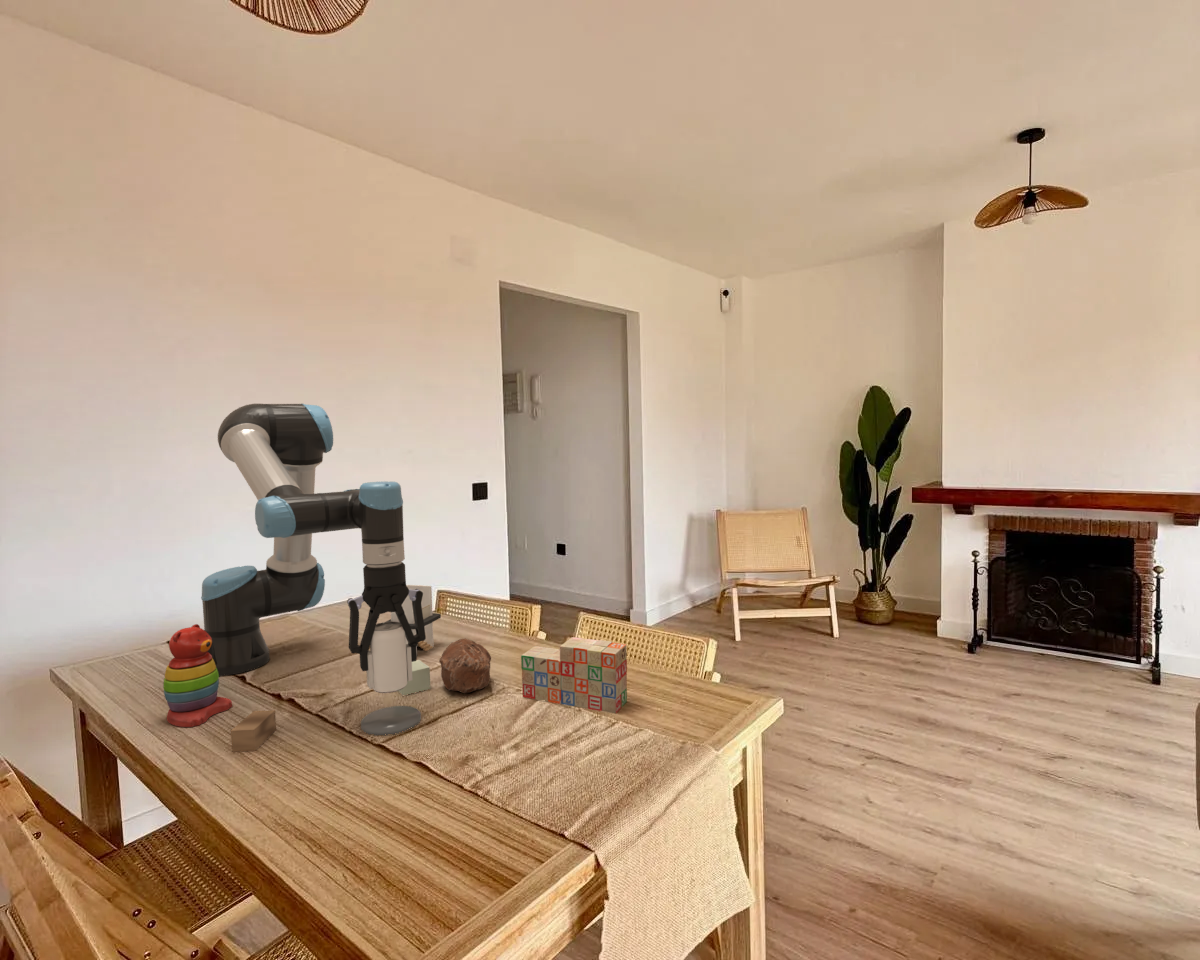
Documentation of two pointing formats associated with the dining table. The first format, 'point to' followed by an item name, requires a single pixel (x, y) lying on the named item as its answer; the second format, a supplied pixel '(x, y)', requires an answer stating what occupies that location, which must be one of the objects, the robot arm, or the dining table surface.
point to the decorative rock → (465, 666)
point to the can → (389, 657)
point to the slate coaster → (390, 720)
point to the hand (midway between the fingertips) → (389, 682)
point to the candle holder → (427, 615)
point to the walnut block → (253, 731)
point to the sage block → (418, 678)
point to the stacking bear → (192, 679)
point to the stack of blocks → (577, 674)
